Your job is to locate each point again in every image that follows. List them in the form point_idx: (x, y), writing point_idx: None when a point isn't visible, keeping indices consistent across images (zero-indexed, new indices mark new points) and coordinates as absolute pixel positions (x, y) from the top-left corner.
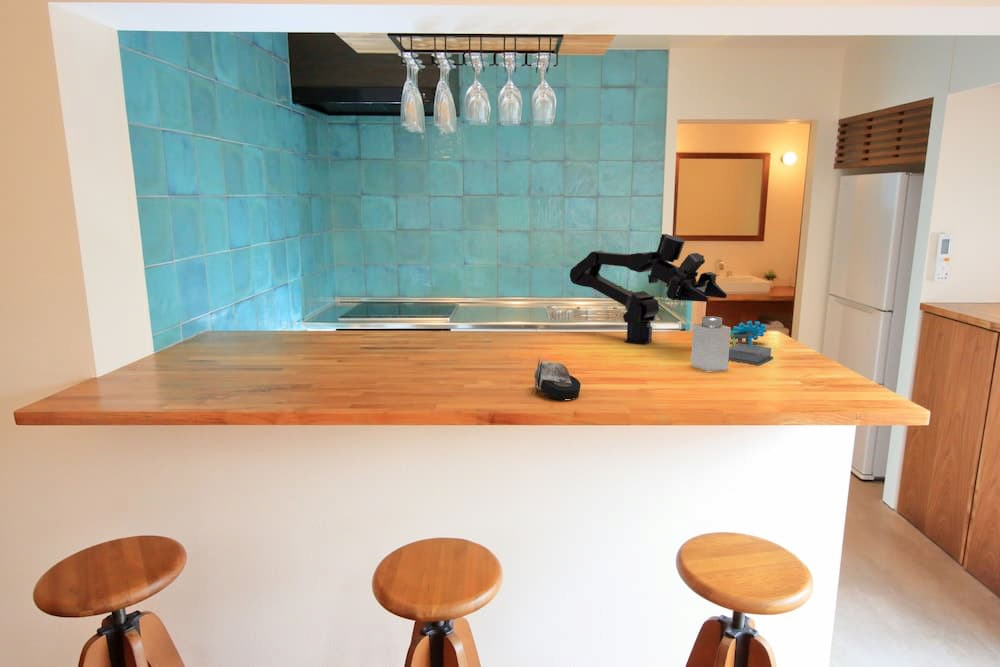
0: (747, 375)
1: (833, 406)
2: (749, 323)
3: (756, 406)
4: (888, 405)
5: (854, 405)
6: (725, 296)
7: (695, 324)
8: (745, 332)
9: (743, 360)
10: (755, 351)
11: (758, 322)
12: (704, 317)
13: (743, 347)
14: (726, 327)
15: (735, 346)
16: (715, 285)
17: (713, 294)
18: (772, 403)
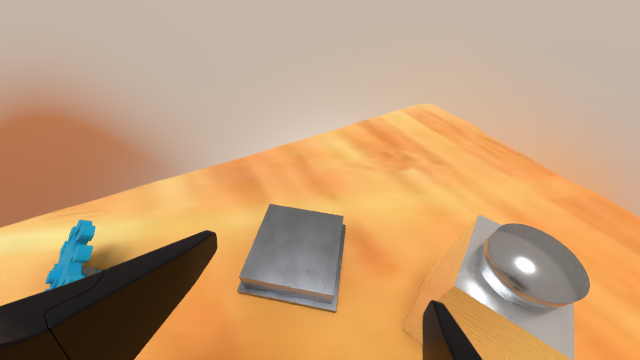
0: (433, 232)
1: (478, 142)
2: (91, 252)
3: (574, 196)
4: (427, 115)
5: (454, 131)
6: (215, 242)
7: (568, 346)
8: None
9: (339, 254)
10: (325, 224)
11: (87, 227)
12: (565, 291)
13: (293, 254)
14: (491, 224)
15: (290, 274)
16: (80, 303)
17: (134, 341)
18: (539, 184)
